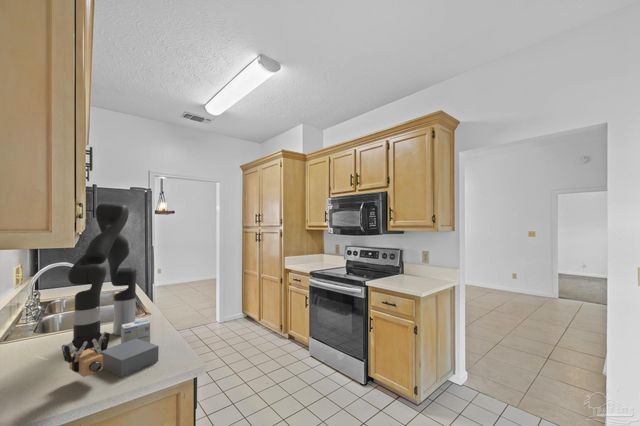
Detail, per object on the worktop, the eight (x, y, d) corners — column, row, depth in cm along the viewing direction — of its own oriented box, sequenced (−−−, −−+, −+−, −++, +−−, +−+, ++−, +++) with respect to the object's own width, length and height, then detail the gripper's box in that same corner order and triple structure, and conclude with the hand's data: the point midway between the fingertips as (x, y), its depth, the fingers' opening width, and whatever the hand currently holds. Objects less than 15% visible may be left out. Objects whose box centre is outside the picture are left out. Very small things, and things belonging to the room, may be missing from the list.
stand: (99, 366, 113) (99, 351, 114) (136, 352, 126) (136, 338, 126) (121, 376, 106) (121, 360, 106) (158, 360, 118) (158, 345, 118)
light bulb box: (146, 341, 137) (147, 318, 138) (150, 345, 133) (151, 322, 133) (120, 348, 130) (120, 324, 130) (123, 353, 125) (123, 328, 125)
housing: (69, 368, 103) (69, 354, 103) (87, 362, 108) (87, 348, 108) (87, 378, 97) (87, 363, 97) (105, 370, 102) (105, 356, 102)
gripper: (104, 312, 111) (104, 356, 111) (57, 324, 98) (56, 374, 98) (115, 315, 107) (114, 361, 107) (66, 329, 95) (66, 380, 94)
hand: (86, 367), depth 103 cm, fingers closed on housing, 5 cm apart
